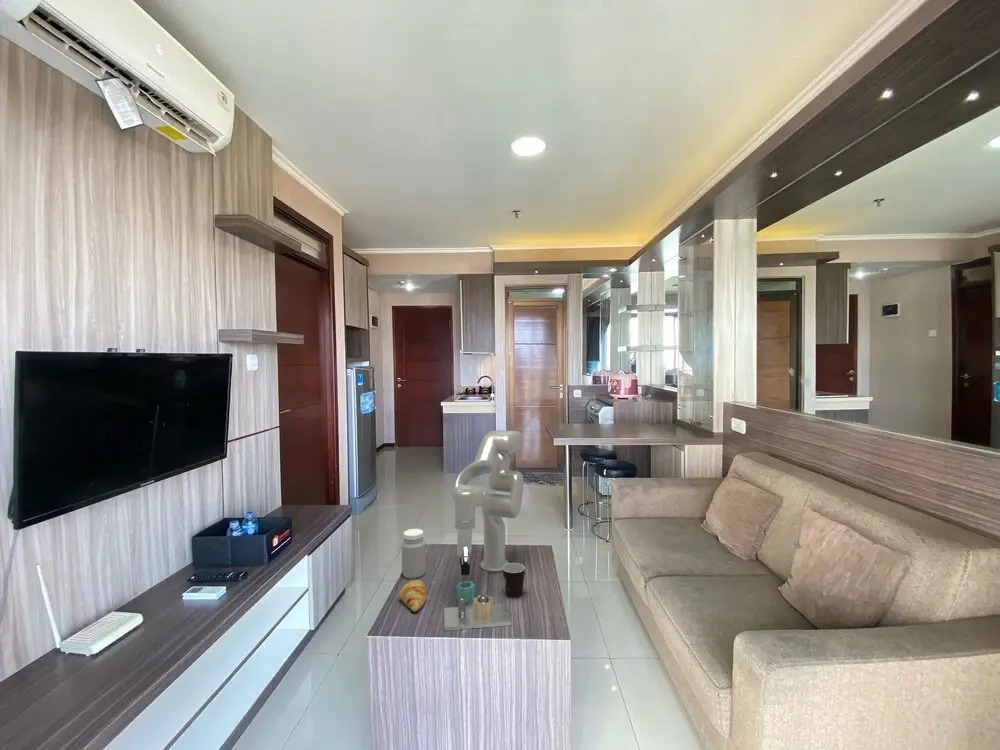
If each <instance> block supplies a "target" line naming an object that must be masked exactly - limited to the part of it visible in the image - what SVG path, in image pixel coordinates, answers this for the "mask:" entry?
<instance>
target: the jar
mask: <svg viewBox="0 0 1000 750" xmlns="http://www.w3.org/2000/svg"><path fill="white" fill-rule="evenodd" d="M402 537H403V539H402V540H403V542H402V543H401V574H402V573H403V574H402V575H403V577H404V578H406V579H409V580H411V579H414V580H416V579H418V578H421V577H423V576H424V574H425V572H426V541H425V540H424V530H422V529H421V528H410V529H406V530H404V532H403V535H402Z"/></svg>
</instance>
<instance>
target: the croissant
mask: <svg viewBox="0 0 1000 750" xmlns="http://www.w3.org/2000/svg"><path fill="white" fill-rule="evenodd" d="M398 596H399V599H400V600H401V601H402V603H404V605H406V607H407V608H409V610H411V611H412V612H414V613H415V612H417V611H419V610H420V609H421V608H423V606H424V605H425V602H426V600H428V590H427V586H426V584H425V583H424V582H423V581H422V580H420V579H418V578H415V579H409V580H408V582H406V583H405V584H404V585H403V586H402V587H401V589H400V591H399V592H398Z"/></svg>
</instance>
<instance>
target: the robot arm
mask: <svg viewBox="0 0 1000 750" xmlns="http://www.w3.org/2000/svg"><path fill="white" fill-rule="evenodd" d="M481 439H482V440H481V441H480V444H479V448H478V450H477V453H476V455H475V459H474V461H473V462H471V463H469V465H468V466H466V467H465V468H464V469H463V470H461V471H460V473H459V474H458V476H457V477H456V480H455V483H454V486H453V488H452V499H453V502H454V529H456V531H457V533H456V534H457V535H456V536H457V537H456V542H457V543H456V544H457V545H456V548H457V549H456V552H457V558H459V564H460V576H470V574H471V572H470V571H471V565H470V564H471V563H470V558H471V556H472V542H473V541H472V539H473V537H472V536H473V535H472V534H473V531H472V530H473V529H475V528H476V508H477V507H481V512H482V519H483V559H482V560H481V562H480V568H481V569H482V570H484V571H486V572H491V573H497V572H503V566H504V565H506V564H509V560H507V559H506V524H505V522H504V519H505V518H507V519H517V518H518V517H519V516H520V513H521V509H522V500H523V494H524V493H523V492H524V487H525V485H524V475H523V474H522V473H521V472H520V471H518V470H510V467H511V466H510V465H511V458H510V456H509V455H511V454H514V453H516V452H517V451H519V450H521V449H522V447H523V445H524V436H523V434H522V433H521V431H517V430H501V429H499V430H491V431H489V432H487V434H485V435H484V436H483V437H482V438H481ZM488 473H489V476H488V487H489V489H490V490H492V491H494V492H499V493H489V491H488V489H487V488H486V487H485V486H482V485H474V484H468V483H469V482H470V481H471V480H472V479H473V480H474V479H475V478H476V477H480V476H482V475H484V474H488ZM500 492H501V493H500ZM502 493H510V494H502ZM503 518H504V519H503Z"/></svg>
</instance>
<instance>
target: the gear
mask: <svg viewBox="0 0 1000 750" xmlns="http://www.w3.org/2000/svg"><path fill="white" fill-rule="evenodd" d="M459 597H465V604H468V603H469V602H473V599H474V598H476V584H475V583H474V582H473V580H471V581H468V580H464V581H459V582H458V584H456V600H458V598H459Z"/></svg>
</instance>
